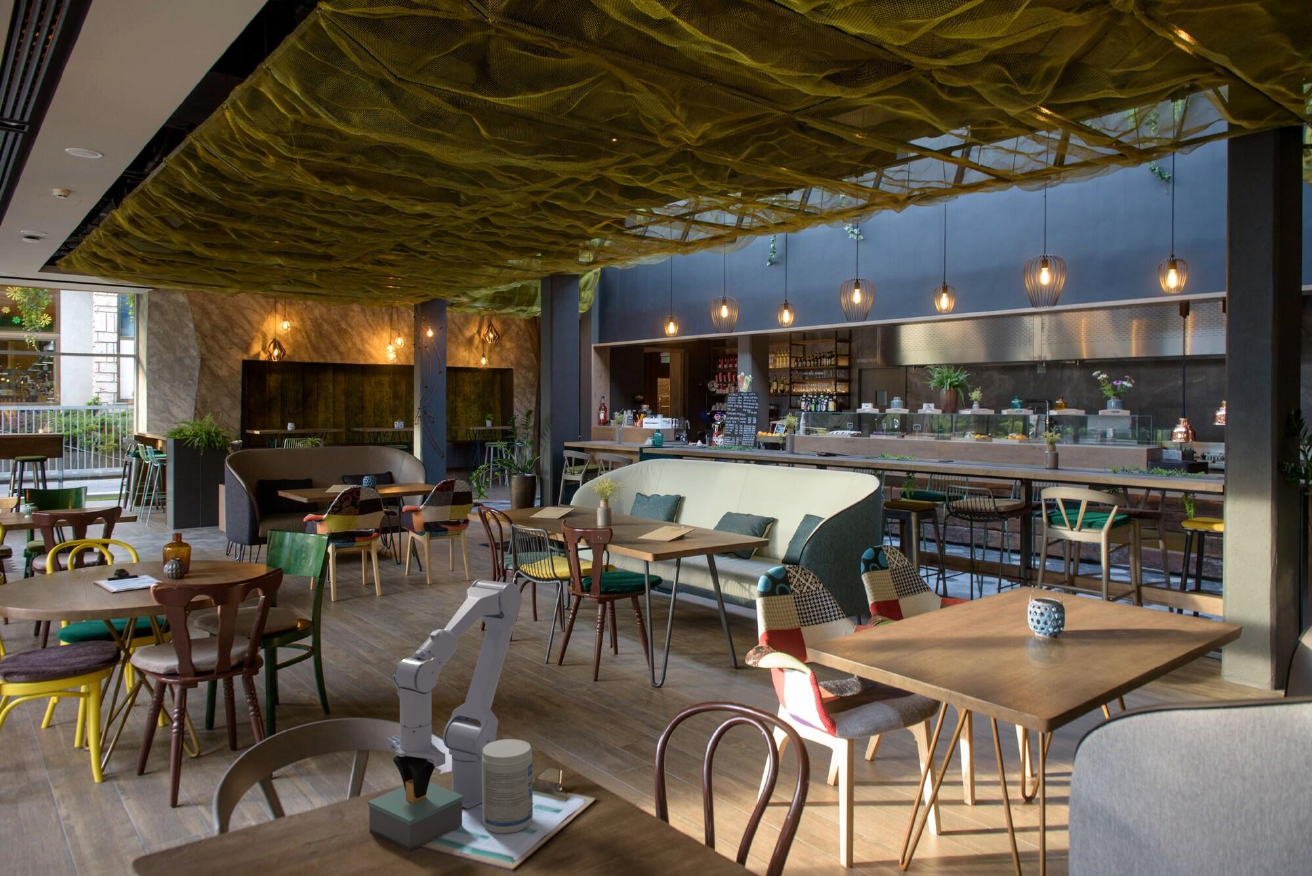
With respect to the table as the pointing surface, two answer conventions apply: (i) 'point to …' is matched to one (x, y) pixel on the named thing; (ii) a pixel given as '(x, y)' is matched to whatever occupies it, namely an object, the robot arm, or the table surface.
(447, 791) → the lid
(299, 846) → the table surface
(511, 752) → the supplement tub
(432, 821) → the parts tub
